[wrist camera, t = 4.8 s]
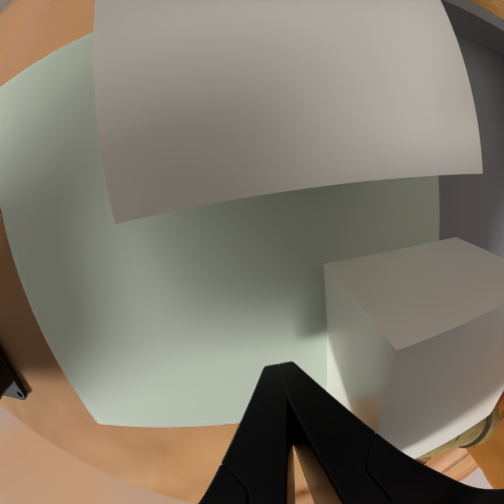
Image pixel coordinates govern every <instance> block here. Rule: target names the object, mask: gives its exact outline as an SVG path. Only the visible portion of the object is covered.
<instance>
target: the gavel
mask: <svg viewBox="0 0 504 504" xmlns="http://www.w3.org/2000/svg"><path fill="white" fill-rule="evenodd" d="M498 421H499V408H498V405H497V403H496V405H495V407H494V409H493V410H492V412H491V414H490V415H488V416H487V417H486V418H484V419H483V420H481V421H480V422H478V423H477V424H475V425H474V426H472V427H471V428H469V429H468V430H466V431H465V432H463V433H462V434H460V435H458V436H457V437H455V438H453V439H452V440H450V441H448V442H446V443H444V444H443V445H441V446H439V447H437V448H435V449H433V450H432V451H430V452H428V453H426V454H424V455H422V456H420V457H417V458H415V460H417V461H419V462H420V463H422V464H425V463H426V462H427V461H428V460H429V459H431V458H432V457H433V456H436V455H439V454H441V453H443V452H444V451H446V450H447V449H451V448H456V447H459V448H470V447H473V446H477V445H480V444H482V443H483V442H485V441H486V440H487V439H489V438H490V436H491V435H492V434H493V432H494V431H495V429H496V427H497V424H498Z"/></svg>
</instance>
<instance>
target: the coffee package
mask: <svg viewBox="0 0 504 504" xmlns="http://www.w3.org/2000/svg"><path fill="white" fill-rule="evenodd" d="M497 405H498V408H499V421H498V424H497V427H496V429H495V431H494V432H493V434H492V435H491V436H490V438H489V439H487V440H486V441H485V442H483V443H482V444H480V445H477V446H473V447H470V448H467V451H468V452H469V453H470V454H471V456H472V457H473V458H474V460H475V461H476V463H477V464H478V465H479V467H480V468H481V469H482V471H483V472H484V474H485V476H486V478H487V480H488V482H489V483H490V484H491V486H492V487H493V489H504V392H503V393H502V394H501V396H500V398H499V400H498V401H497Z"/></svg>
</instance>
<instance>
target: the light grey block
mask: <svg viewBox="0 0 504 504" xmlns="http://www.w3.org/2000/svg"><path fill="white" fill-rule="evenodd" d="M93 72H94V92H95V105H96V116H97V125H98V133H99V141H100V148H101V155H102V161H103V167H104V173H105V178H106V184H107V189H108V194H109V199H110V203H111V208H112V212H113V217H114V221H115V224H119V223H123V222H127V221H132V220H136V219H140V218H145V217H149V216H154V215H158V214H163V213H168V212H172V211H177V210H182V209H187V208H192V207H197V206H202V205H207V204H213V203H218V202H224V201H229V200H235V199H241V198H247V197H253V196H259V195H265V194H271V193H278V192H285V191H291V190H298V189H306V188H313V187H321V186H329V185H337V184H345V183H354V182H364V181H373V180H384V179H395V178H407V177H421V176H437V175H456V174H483V168H482V155H481V145H480V136H479V129H478V122H477V116H476V110H475V105H474V100H473V95H472V91H471V86H470V82H469V78H468V74H467V71H466V67H465V63H464V60H463V57H462V54H461V51H460V48H459V45H458V42H457V39H456V36H455V33H454V31H453V28H452V26H451V23H450V21H449V18H448V16H447V13H446V11H445V9H444V7H443V4H442V2H441V0H95V9H94V27H93Z"/></svg>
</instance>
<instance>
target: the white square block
mask: <svg viewBox="0 0 504 504" xmlns="http://www.w3.org/2000/svg"><path fill="white" fill-rule="evenodd" d="M324 279H325V298H326V324H327V392H328V393H330V394H331V395H332V396H333V397H334V398H335V399H336V400H338V401H339V402H340V403H341V404H342V405H344V406H345V407H346V408H347V409H348V410H349V411H351V412H352V413H353V414H354V415H356V416H357V417H358V418H359V419H360V420H362V421H363V422H364V423H365V424H366V425H368V426H369V427H370V428H371V429H373V430H374V431H375V433H378V434H379V435H380V436H382V437H383V438H384V439H385V440H387V441H388V442H389V443H391V444H392V445H393V446H395V447H396V448H398V449H399V450H400V451H402V452H403V453H405V454H407V455H408V456H410V457H412V458H413V459H415V458H417V457H420V456H422V455H424V454H426V453H428V452H430V451H432V450H433V449H435V448H437V447H439V446H441V445H443V444H444V443H446V442H448V441H450V440H452V439H453V438H455V437H457V436H458V435H460V434H462V433H463V432H465V431H466V430H468V429H469V428H471V427H472V426H474V425H475V424H477V423H478V422H480V421H481V420H483V419H484V418H486V417H487V416H488V415H490V414H491V412H492V410H493V409H494V407H495V405H496V403H497V401H498V400H499V398H500V396H501V394H502V392H503V390H504V258H502V257H499V256H497V255H495V254H493V253H491V252H489V251H487V250H484V249H482V248H480V247H478V246H475V245H473V244H471V243H469V242H466V241H464V240H462V239H459V238H457V237H454V238H449V239H445V240H440V241H436V242H431V243H426V244H422V245H417V246H412V247H407V248H402V249H397V250H393V251H388V252H383V253H378V254H373V255H367V256H362V257H357V258H352V259H347V260H342V261H336V262H331V263H326V264H324Z"/></svg>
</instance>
